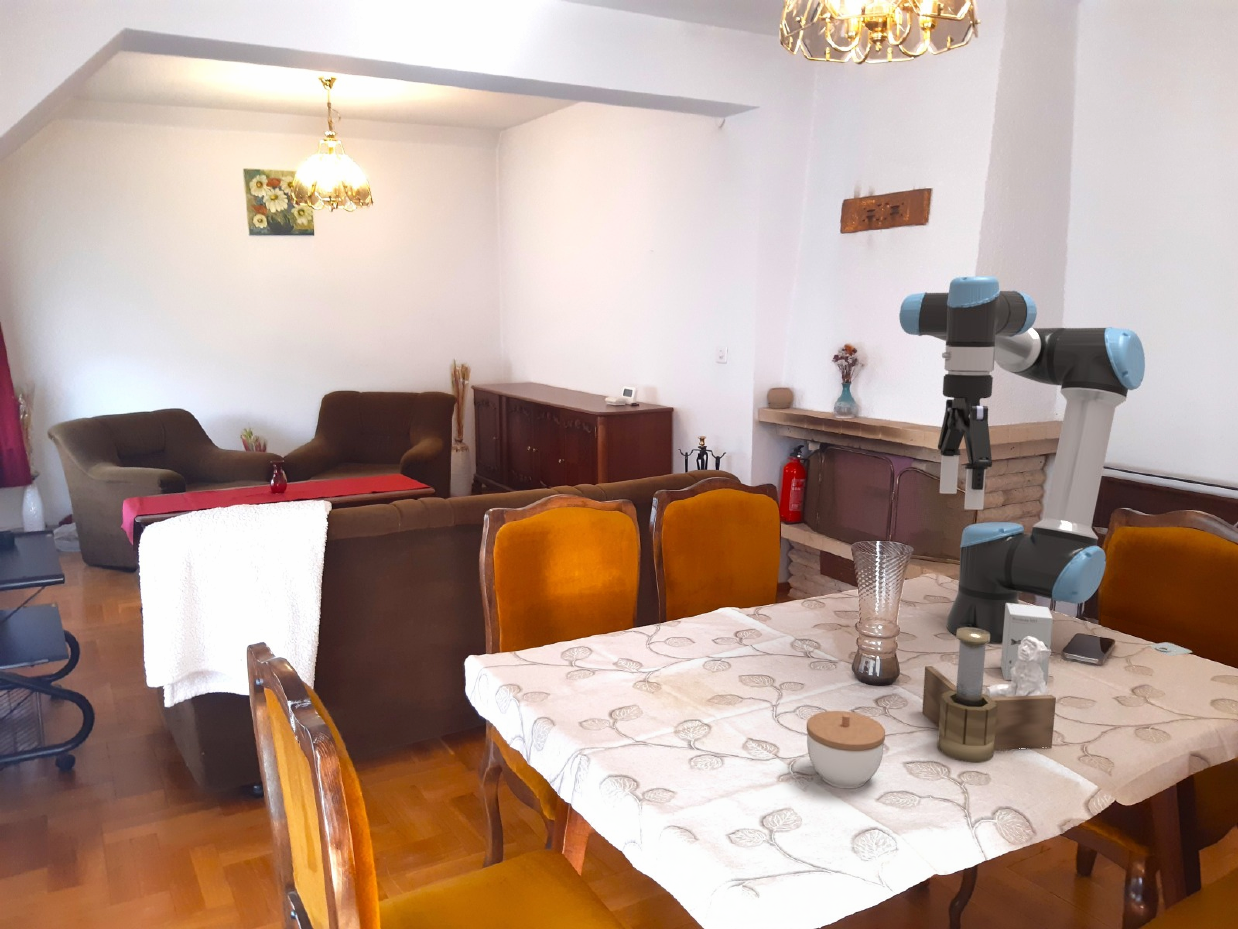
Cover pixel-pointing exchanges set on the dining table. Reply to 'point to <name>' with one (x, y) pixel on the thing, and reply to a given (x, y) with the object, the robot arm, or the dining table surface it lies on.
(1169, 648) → the mounting bracket
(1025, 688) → the sitting furry creature
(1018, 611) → the supplement box
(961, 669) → the hinge pin
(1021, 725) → the hinge
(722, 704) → the dining table surface
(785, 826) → the dining table surface
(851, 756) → the lidded jar
